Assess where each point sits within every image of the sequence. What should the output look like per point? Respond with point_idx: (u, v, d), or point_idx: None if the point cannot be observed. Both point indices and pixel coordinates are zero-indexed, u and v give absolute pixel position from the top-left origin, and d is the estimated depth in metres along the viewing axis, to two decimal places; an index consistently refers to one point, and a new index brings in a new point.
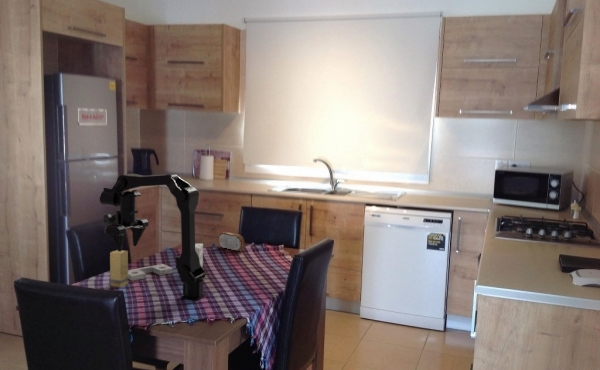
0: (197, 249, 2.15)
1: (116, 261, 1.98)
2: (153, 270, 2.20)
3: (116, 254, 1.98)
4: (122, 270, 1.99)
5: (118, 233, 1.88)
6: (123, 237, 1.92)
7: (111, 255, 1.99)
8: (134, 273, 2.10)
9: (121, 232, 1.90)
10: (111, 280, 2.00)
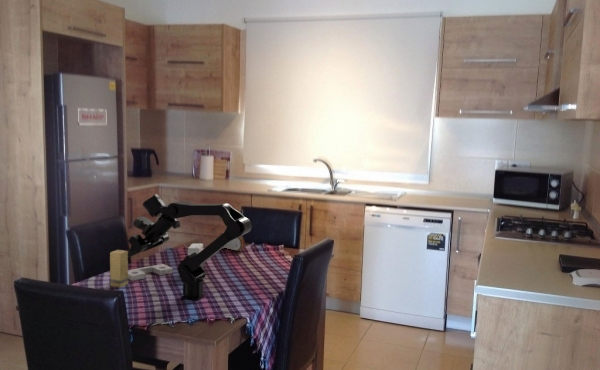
0: (197, 249, 2.15)
1: (116, 261, 1.98)
2: (153, 270, 2.20)
3: (116, 254, 1.98)
4: (122, 270, 1.99)
5: (138, 251, 1.86)
6: None
7: (111, 255, 1.99)
8: (134, 273, 2.10)
9: (141, 250, 1.88)
10: (111, 280, 2.00)
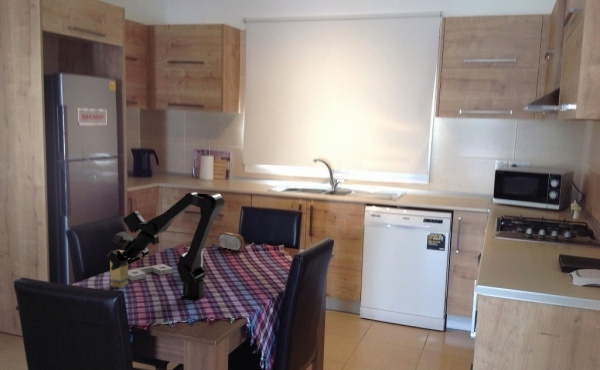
0: None
1: None
2: (153, 270, 2.20)
3: None
4: (122, 270, 1.99)
5: (117, 267, 1.90)
6: None
7: None
8: (134, 273, 2.10)
9: (120, 266, 1.91)
10: (111, 280, 2.00)
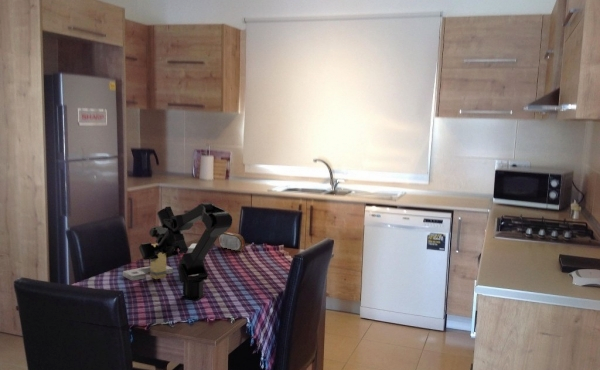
0: None
1: None
2: None
3: None
4: (158, 263, 2.07)
5: (144, 258, 1.98)
6: (155, 259, 2.03)
7: None
8: (134, 273, 2.10)
9: (148, 258, 1.99)
10: (150, 271, 2.10)
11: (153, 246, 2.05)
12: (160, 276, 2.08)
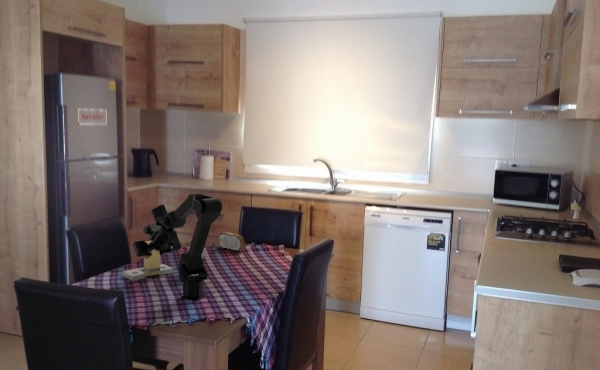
0: None
1: None
2: None
3: None
4: (152, 260, 2.11)
5: (138, 255, 2.02)
6: (149, 256, 2.07)
7: None
8: (134, 273, 2.10)
9: (142, 255, 2.03)
10: (144, 268, 2.13)
11: (147, 243, 2.09)
12: (154, 273, 2.12)
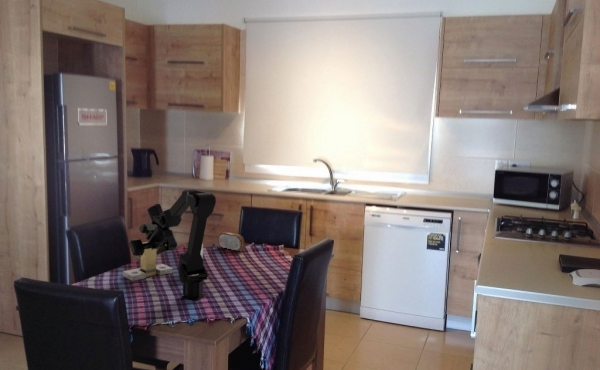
0: None
1: None
2: None
3: None
4: (148, 261, 2.13)
5: (134, 254, 2.04)
6: (140, 255, 2.08)
7: None
8: (134, 273, 2.10)
9: (138, 254, 2.05)
10: (141, 269, 2.16)
11: None
12: (150, 274, 2.14)
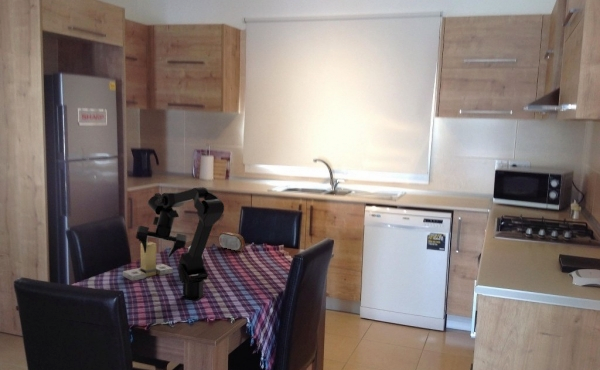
0: None
1: None
2: None
3: None
4: (148, 261, 2.13)
5: (136, 237, 2.00)
6: (144, 243, 2.02)
7: (141, 246, 2.14)
8: (134, 273, 2.10)
9: (140, 238, 2.00)
10: (141, 269, 2.16)
11: None
12: (150, 274, 2.14)
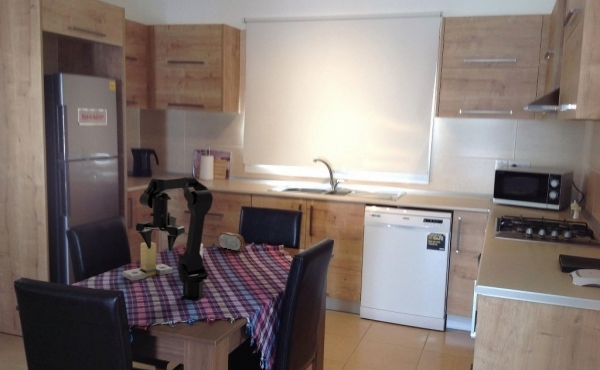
0: None
1: (144, 251, 2.13)
2: None
3: (143, 245, 2.13)
4: (148, 261, 2.13)
5: (135, 228, 2.04)
6: (142, 235, 2.04)
7: (141, 246, 2.14)
8: (134, 273, 2.10)
9: (138, 229, 2.03)
10: (141, 269, 2.16)
11: (151, 229, 2.08)
12: (150, 274, 2.14)
